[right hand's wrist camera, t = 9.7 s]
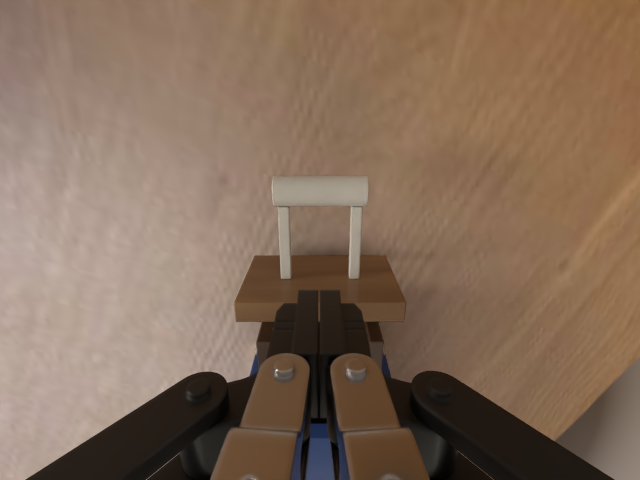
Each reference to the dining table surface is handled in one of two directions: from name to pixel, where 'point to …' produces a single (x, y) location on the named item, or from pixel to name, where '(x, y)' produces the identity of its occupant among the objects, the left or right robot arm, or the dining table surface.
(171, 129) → the dining table surface
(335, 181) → the drawer
